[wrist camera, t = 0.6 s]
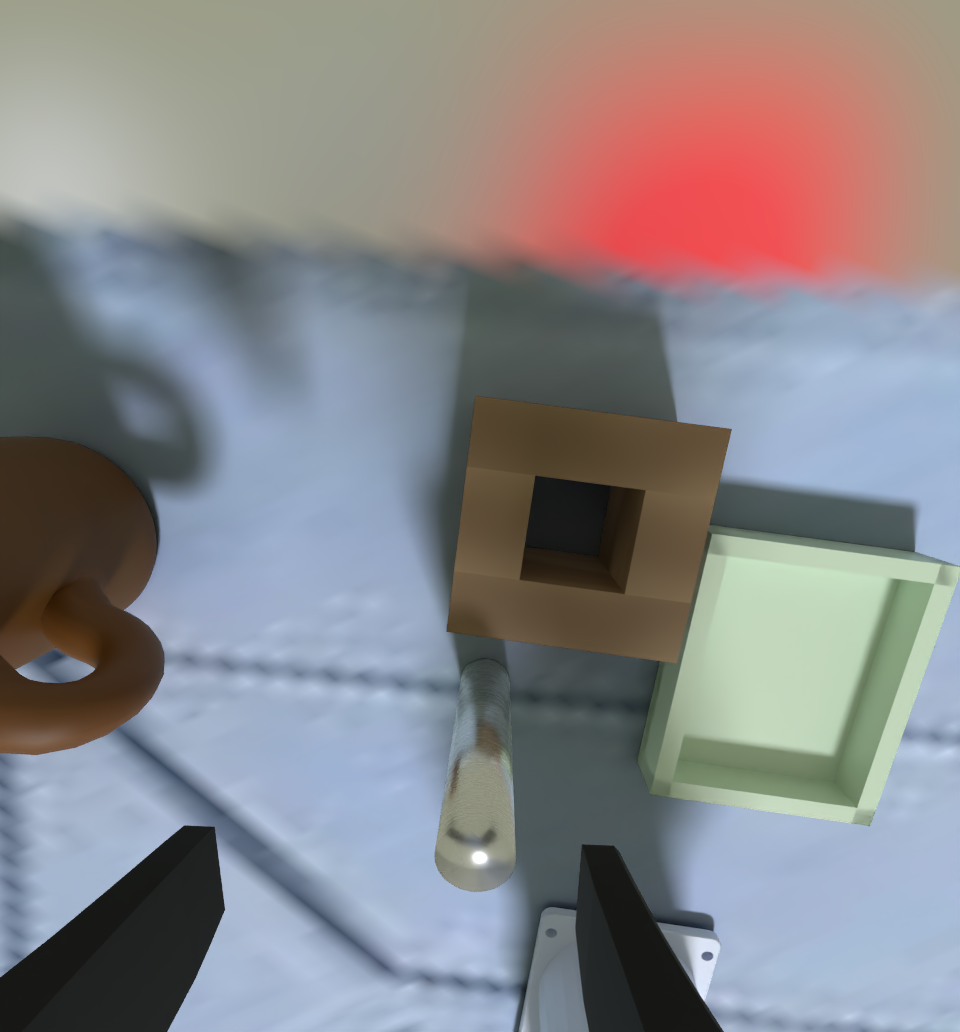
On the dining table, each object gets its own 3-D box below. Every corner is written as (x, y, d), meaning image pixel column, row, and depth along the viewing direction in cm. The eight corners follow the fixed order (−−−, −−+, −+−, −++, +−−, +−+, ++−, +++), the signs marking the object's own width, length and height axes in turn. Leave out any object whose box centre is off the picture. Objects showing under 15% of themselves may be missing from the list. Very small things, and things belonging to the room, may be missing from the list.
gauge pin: (505, 706, 20) (509, 897, 12) (458, 699, 20) (430, 885, 12) (512, 662, 19) (521, 830, 11) (464, 655, 19) (439, 818, 11)
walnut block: (639, 611, 19) (676, 663, 15) (457, 587, 19) (446, 631, 15) (678, 426, 17) (731, 429, 13) (481, 401, 17) (475, 395, 13)
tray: (836, 789, 20) (870, 825, 18) (637, 761, 20) (650, 794, 18) (916, 552, 18) (962, 566, 16) (691, 522, 18) (712, 533, 16)
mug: (294, 519, 18) (88, 621, 9) (243, 683, 20) (22, 909, 11) (-3, 404, 18) (-532, 389, 9) (-32, 580, 20) (-507, 724, 10)
